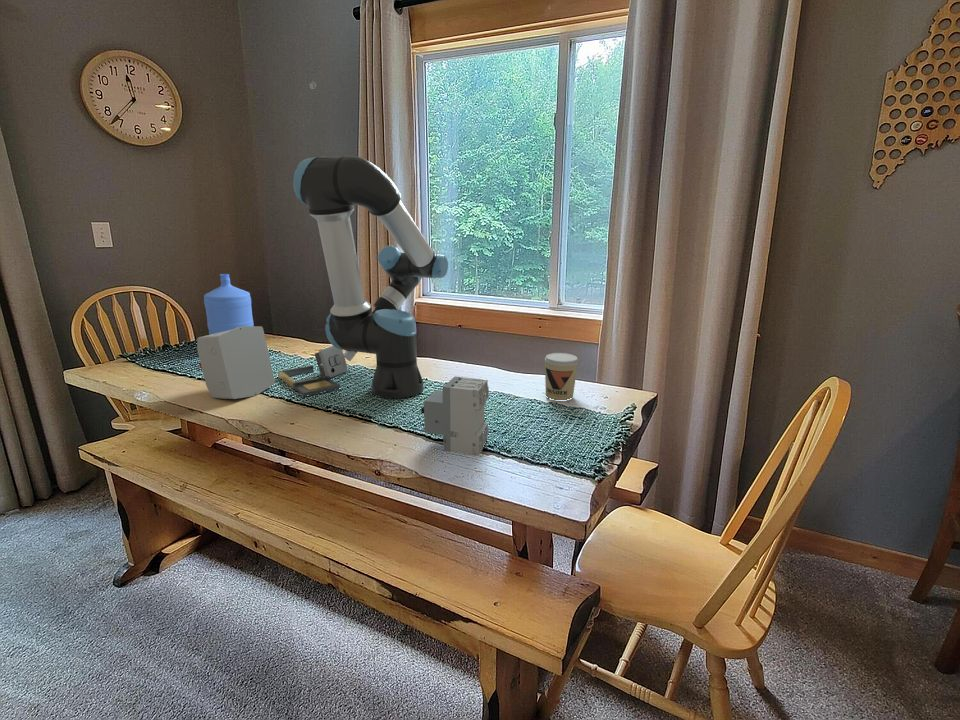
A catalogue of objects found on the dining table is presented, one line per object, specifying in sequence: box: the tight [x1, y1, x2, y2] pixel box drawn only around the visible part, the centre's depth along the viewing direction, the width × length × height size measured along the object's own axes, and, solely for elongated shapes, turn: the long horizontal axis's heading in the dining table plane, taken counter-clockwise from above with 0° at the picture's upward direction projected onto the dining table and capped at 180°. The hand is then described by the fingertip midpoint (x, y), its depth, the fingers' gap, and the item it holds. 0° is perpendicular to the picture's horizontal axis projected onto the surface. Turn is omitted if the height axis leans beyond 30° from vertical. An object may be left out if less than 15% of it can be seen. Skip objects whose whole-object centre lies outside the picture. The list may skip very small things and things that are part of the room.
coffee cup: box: [544, 352, 579, 400], centre depth 143 cm, size 9×9×12 cm
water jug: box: [203, 273, 255, 335], centre depth 187 cm, size 16×16×28 cm
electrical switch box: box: [196, 325, 276, 400], centre depth 144 cm, size 15×15×20 cm
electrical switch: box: [314, 345, 349, 379], centre depth 162 cm, size 9×5×9 cm, turn 153°
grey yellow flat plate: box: [277, 364, 342, 397], centre depth 154 cm, size 22×11×2 cm, turn 39°
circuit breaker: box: [420, 376, 490, 456], centre depth 113 cm, size 8×14×15 cm, turn 73°
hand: (346, 358), depth 165 cm, fingers closed
